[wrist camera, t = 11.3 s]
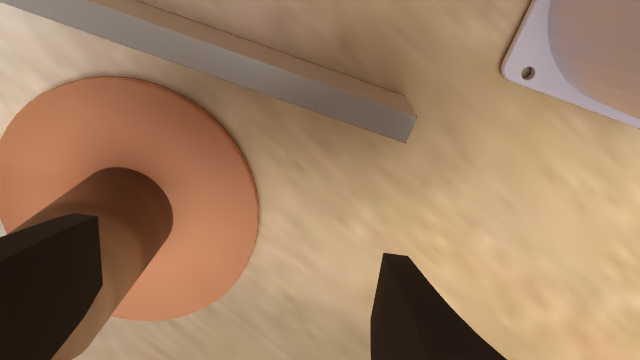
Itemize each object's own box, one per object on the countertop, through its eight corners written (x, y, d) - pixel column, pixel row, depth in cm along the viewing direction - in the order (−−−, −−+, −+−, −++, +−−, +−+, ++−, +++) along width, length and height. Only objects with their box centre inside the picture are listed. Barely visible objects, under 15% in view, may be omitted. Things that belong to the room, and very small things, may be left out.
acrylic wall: (405, 96, 19) (417, 117, 16) (396, 118, 20) (405, 143, 16) (-82, -77, 18) (-177, -94, 14) (-82, -50, 18) (-175, -60, 15)
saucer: (291, 130, 20) (289, 136, 19) (223, 338, 24) (219, 349, 24) (16, 35, 19) (2, 37, 18) (-3, 268, 24) (-15, 277, 23)
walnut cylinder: (173, 174, 20) (92, 259, 14) (172, 260, 22) (99, 372, 15) (74, 160, 20) (-56, 239, 14) (80, 247, 22) (-33, 354, 15)
